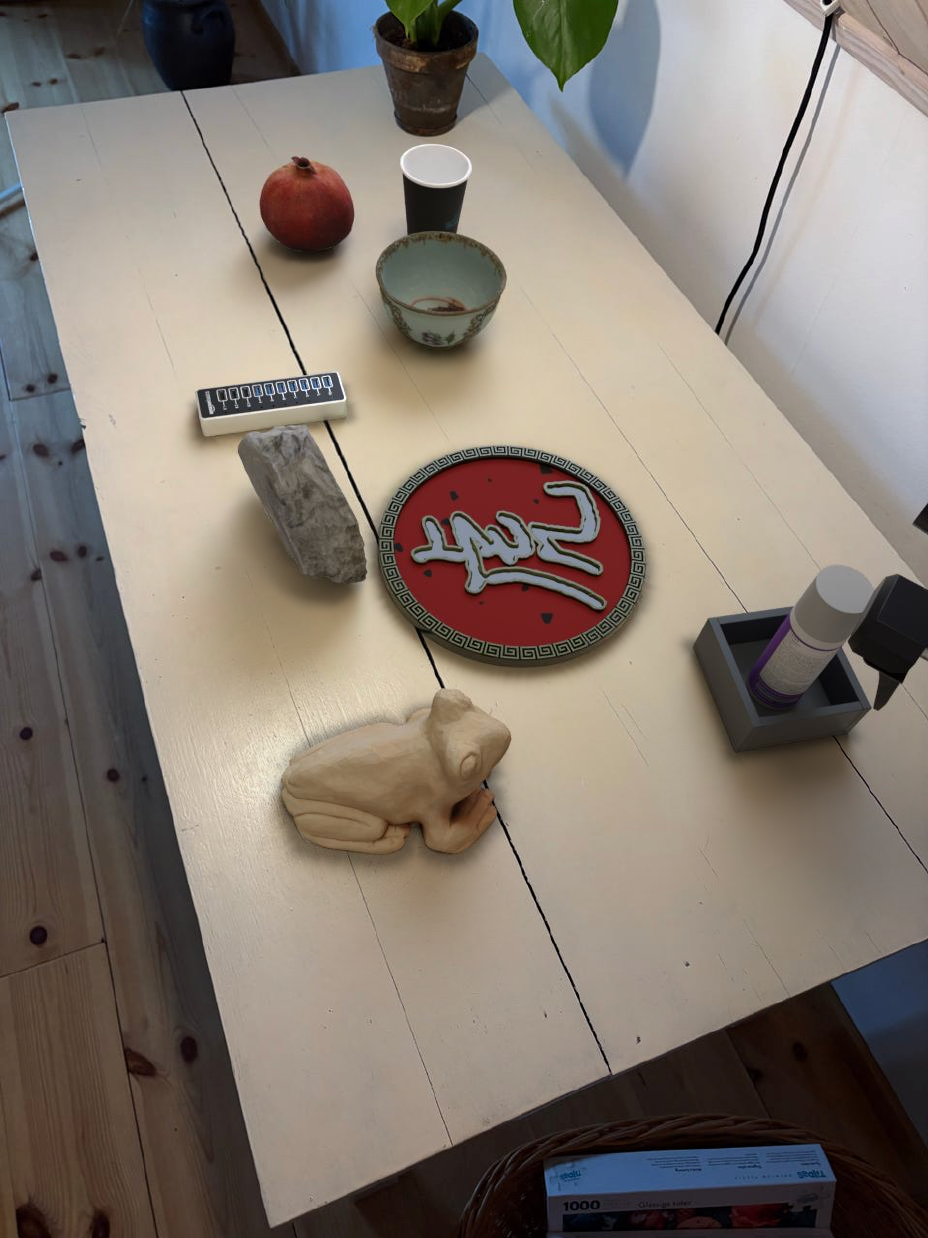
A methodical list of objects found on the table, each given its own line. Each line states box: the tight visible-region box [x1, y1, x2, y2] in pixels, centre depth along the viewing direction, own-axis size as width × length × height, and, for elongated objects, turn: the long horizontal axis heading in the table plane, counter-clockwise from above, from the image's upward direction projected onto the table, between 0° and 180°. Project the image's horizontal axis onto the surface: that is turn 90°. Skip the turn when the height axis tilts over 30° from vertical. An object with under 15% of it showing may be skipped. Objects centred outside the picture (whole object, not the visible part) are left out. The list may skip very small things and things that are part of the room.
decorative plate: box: [377, 444, 647, 668], centre depth 88 cm, size 25×1×25 cm
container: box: [747, 564, 875, 710], centre depth 76 cm, size 5×5×15 cm
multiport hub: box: [194, 371, 348, 437], centre depth 95 cm, size 4×14×2 cm, turn 106°
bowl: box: [375, 231, 508, 351], centre depth 101 cm, size 14×13×8 cm
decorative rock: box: [237, 424, 368, 585], centre depth 81 cm, size 16×7×15 cm, turn 28°
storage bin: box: [692, 605, 873, 753], centre depth 81 cm, size 11×11×5 cm
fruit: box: [258, 155, 355, 253], centre depth 107 cm, size 11×10×10 cm
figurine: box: [280, 687, 512, 855], centre depth 71 cm, size 12×17×10 cm
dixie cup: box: [399, 143, 473, 235], centre depth 108 cm, size 8×8×11 cm
